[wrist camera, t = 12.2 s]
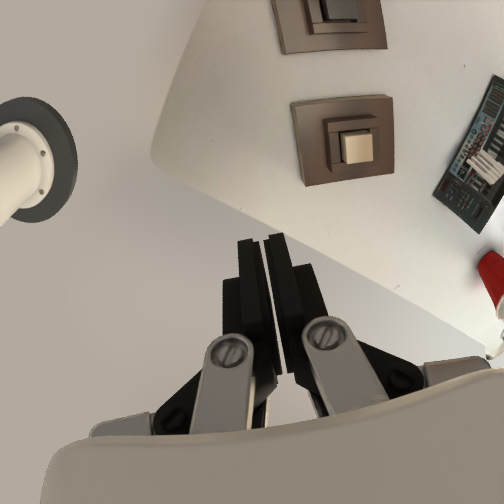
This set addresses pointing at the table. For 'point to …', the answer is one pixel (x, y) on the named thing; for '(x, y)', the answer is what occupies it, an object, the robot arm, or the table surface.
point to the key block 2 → (329, 142)
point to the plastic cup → (494, 280)
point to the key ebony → (339, 10)
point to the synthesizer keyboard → (478, 165)
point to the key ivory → (356, 146)
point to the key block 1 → (327, 27)
